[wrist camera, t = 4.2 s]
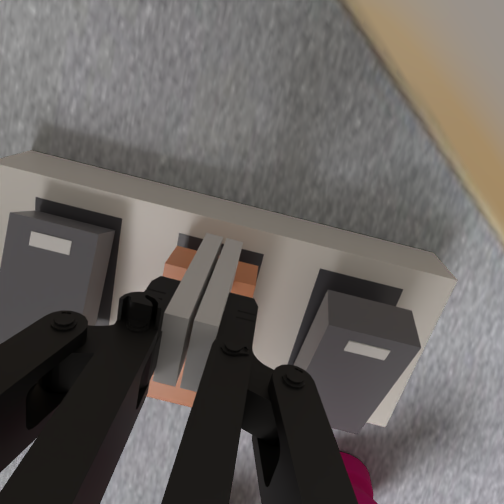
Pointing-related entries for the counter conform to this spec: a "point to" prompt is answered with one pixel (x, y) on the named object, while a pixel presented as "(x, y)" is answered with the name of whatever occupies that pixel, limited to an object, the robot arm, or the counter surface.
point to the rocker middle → (176, 270)
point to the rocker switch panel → (253, 252)
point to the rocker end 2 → (357, 355)
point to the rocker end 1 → (51, 269)
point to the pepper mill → (359, 479)
